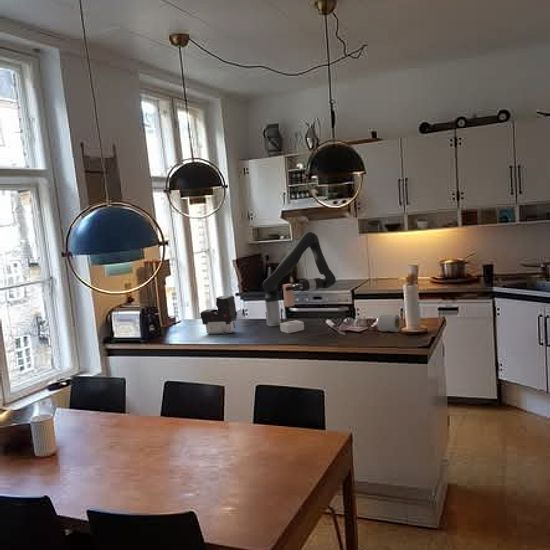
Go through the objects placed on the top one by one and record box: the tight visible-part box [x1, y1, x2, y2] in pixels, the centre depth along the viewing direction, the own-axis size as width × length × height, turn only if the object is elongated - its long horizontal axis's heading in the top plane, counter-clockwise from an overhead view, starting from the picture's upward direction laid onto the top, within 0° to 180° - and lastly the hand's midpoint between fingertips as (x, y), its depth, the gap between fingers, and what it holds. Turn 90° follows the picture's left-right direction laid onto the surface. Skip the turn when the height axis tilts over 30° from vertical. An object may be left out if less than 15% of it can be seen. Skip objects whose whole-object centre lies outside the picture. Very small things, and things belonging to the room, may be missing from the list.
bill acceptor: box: [199, 294, 238, 335], centre depth 375 cm, size 10×23×25 cm, turn 70°
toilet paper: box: [377, 314, 402, 333], centre depth 330 cm, size 10×10×10 cm
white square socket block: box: [279, 319, 305, 334], centre depth 357 cm, size 12×10×6 cm
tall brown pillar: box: [282, 283, 295, 308], centre depth 355 cm, size 5×4×14 cm
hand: (284, 288), depth 353 cm, fingers closed on tall brown pillar, 4 cm apart
